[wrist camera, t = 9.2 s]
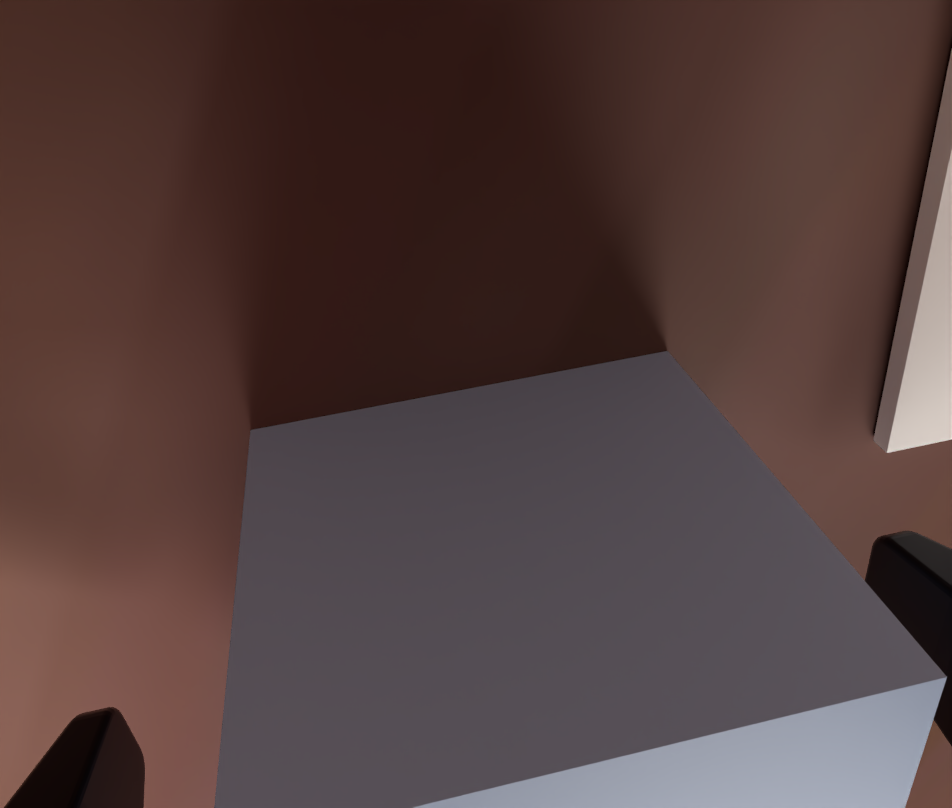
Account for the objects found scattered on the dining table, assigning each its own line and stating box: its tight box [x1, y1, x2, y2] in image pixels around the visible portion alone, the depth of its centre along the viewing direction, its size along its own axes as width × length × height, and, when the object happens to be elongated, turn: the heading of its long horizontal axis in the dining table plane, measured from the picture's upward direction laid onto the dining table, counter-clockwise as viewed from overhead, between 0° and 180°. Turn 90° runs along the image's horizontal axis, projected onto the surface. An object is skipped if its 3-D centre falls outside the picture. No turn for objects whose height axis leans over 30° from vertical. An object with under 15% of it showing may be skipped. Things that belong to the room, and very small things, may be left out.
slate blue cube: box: [214, 351, 947, 808], centre depth 9 cm, size 5×5×5 cm
